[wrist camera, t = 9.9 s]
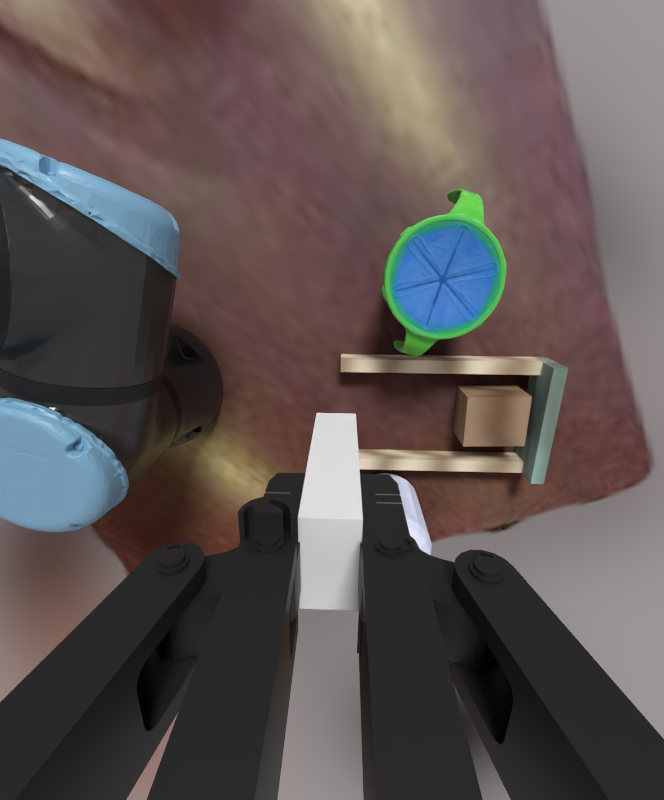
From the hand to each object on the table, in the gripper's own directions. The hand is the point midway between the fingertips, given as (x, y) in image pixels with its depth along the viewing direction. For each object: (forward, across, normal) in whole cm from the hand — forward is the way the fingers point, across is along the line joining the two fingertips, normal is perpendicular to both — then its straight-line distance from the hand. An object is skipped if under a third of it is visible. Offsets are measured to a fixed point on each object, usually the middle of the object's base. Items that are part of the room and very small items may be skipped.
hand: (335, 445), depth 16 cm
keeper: (+33, +18, -10) cm, 39 cm away
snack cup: (+33, +9, +5) cm, 34 cm away
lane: (+32, +12, -11) cm, 36 cm away
